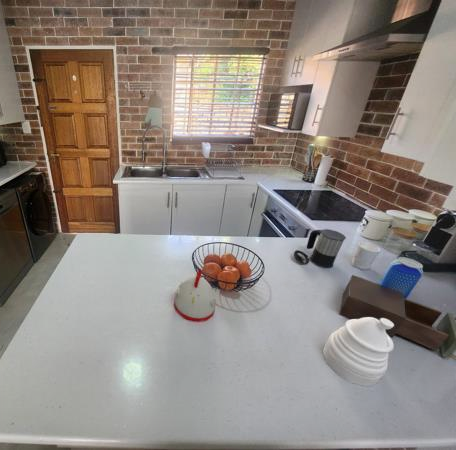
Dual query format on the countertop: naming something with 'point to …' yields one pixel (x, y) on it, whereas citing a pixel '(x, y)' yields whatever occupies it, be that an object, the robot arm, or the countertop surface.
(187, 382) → the countertop surface
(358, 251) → the white cup
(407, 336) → the drawer
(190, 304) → the white and red dome
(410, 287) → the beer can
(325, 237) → the milk frother
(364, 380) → the honey pot
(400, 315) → the cabinet
